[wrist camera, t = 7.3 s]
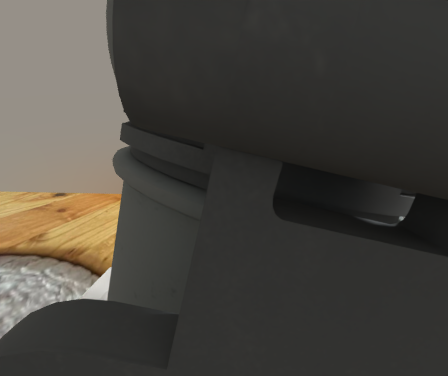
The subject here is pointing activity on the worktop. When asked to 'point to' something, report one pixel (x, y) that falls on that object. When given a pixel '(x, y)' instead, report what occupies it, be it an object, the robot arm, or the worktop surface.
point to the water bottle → (268, 196)
